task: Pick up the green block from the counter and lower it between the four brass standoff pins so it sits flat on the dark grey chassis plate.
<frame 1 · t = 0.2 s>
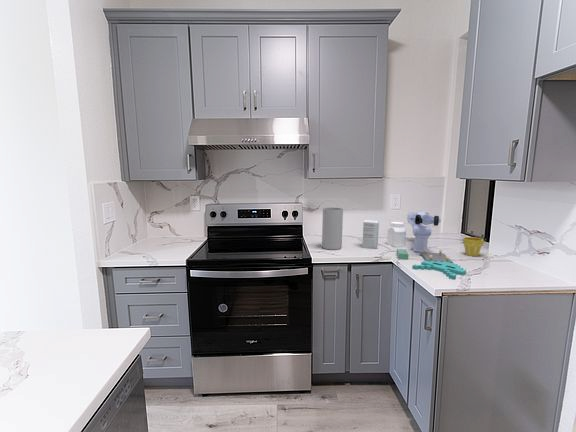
hand: (429, 221, 167), 21 cm above the countertop, tool horizontal, fingers open, 7 cm apart
chassis: (435, 258, 172), on the countertop
cylinder vase: (331, 247, 195), on the countertop
plant pot: (471, 255, 181), on the countertop
jar: (395, 245, 203), on the countertop
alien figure: (441, 271, 152), on the countertop
supplement box: (370, 247, 198), on the countertop
green block: (402, 257, 175), on the countertop
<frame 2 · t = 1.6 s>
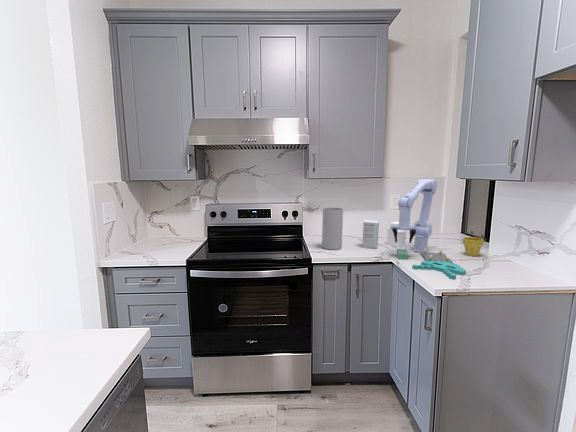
hand: (403, 242, 174), 8 cm above the countertop, tool pointing down, fingers open, 7 cm apart
nothing on the countertop moved.
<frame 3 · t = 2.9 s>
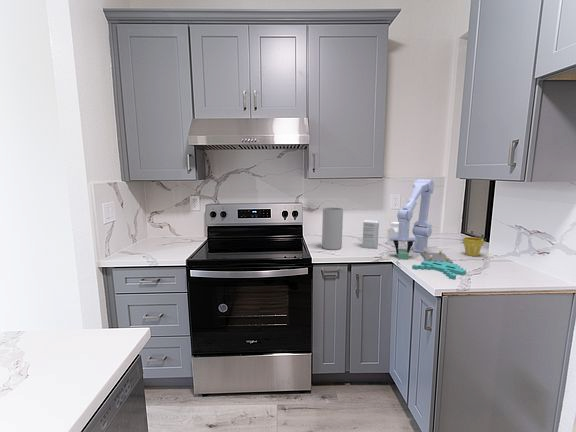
hand: (402, 253, 175), 2 cm above the countertop, tool pointing down, fingers closed on green block, 5 cm apart
green block: (402, 256, 175), on the countertop, touching gripper
everything else where it was.
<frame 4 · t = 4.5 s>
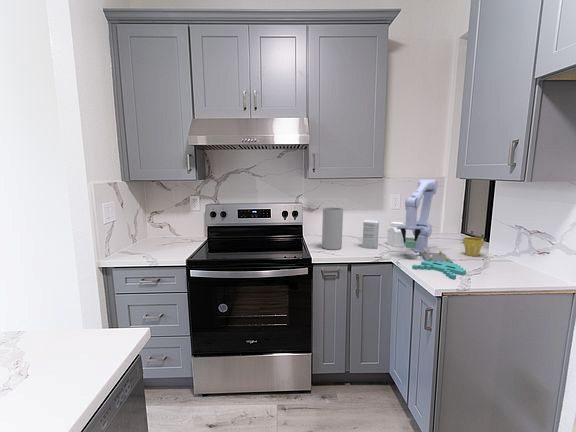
hand: (409, 242, 173), 9 cm above the countertop, tool pointing down, fingers closed on green block, 5 cm apart
green block: (409, 245, 174), point 7 cm above the countertop, touching gripper
everything else where it was.
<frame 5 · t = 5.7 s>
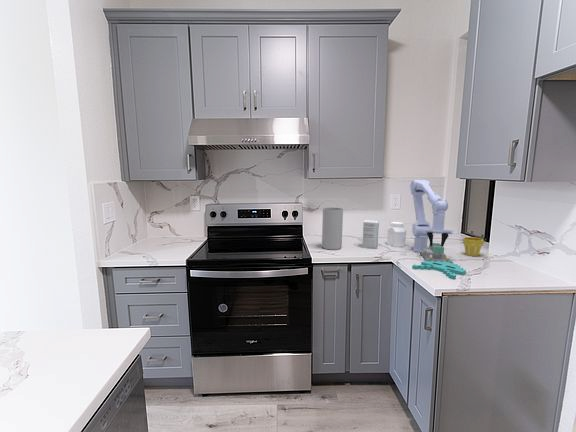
hand: (436, 246, 171), 7 cm above the countertop, tool pointing down, fingers closed on green block, 5 cm apart
green block: (436, 251, 172), point 4 cm above the countertop, touching gripper
everything else where it was.
when the fingers open (5 cm above the countertop, at t = 6.6 s): green block stays where it is, resting on chassis.
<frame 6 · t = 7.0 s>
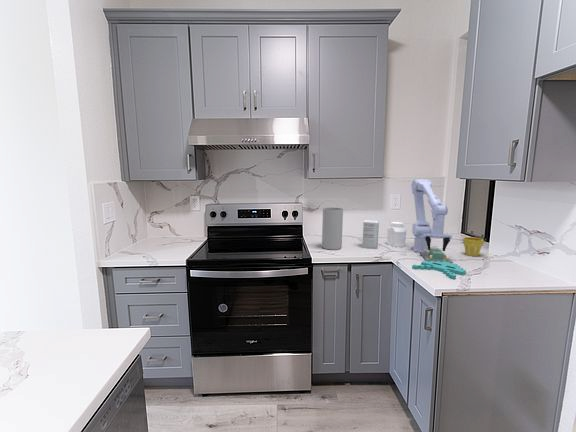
hand: (436, 250, 172), 5 cm above the countertop, tool pointing down, fingers open, 7 cm apart
green block: (435, 256, 172), point 1 cm above the countertop, touching chassis
everything else where it was.
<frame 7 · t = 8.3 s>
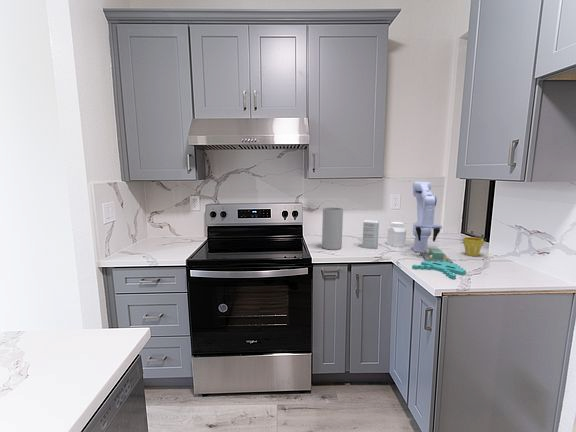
hand: (426, 240, 174), 9 cm above the countertop, tool pointing down, fingers open, 7 cm apart
nothing on the countertop moved.
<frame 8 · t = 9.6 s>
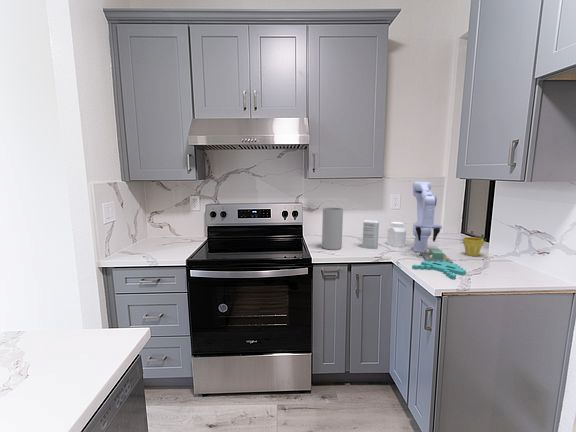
hand: (426, 240, 174), 9 cm above the countertop, tool pointing down, fingers open, 7 cm apart
nothing on the countertop moved.
at the end: green block 0.0 cm off-centre on the chassis, point 1.0 cm above the chassis's base; green block tilted 0°; the gripper is holding nothing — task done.
